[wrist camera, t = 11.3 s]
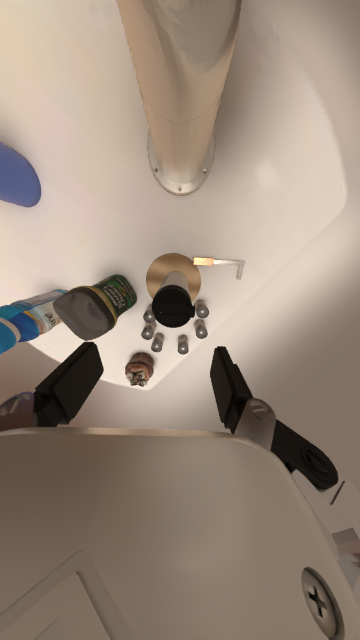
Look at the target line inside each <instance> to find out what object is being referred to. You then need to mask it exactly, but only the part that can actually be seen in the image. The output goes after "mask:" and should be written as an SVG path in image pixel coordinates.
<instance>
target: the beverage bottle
mask: <svg viewBox="0 0 360 640" xmlns="http://www.w3.org/2000/svg"><path fill="white" fill-rule="evenodd" d="M65 293H67V291H64V290H54V291H52V292H48V293H45V294H42V295H38V296H35V297H32V298H28V299H25V300H19V301H16V302H13V303H12V304H10V305H5V306H2V307H0V354H1V353H3V352H5V351H7V350H8V349H10V348H12V347H13V346H14V345H16V343H17V342H24V341H29V340H33V339H35V338H37V337H38V336H39V335H41V334H44V333H46V332H48V331H50V330H51V329H52V328H53V327H54V326H56V325H58V324H59V323H61V322H63V321H62V320H61V318H60V317H59V316H58V315H57V314H56V312H55V310H54V308H53V302H54V301H55V300H56V299H57V298H59V297H60V296H62V295H63V294H65Z"/></svg>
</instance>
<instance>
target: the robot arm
mask: <svg viewBox="0 0 360 640" xmlns="http://www.w3.org/2000/svg"><path fill="white" fill-rule="evenodd" d="M241 1H242V0H117V4H118V7H119V11H120V14H121V18H122V22H123V26H124V29H125V33H126V37H127V41H128V45H129V49H130V52H131V56H132V60H133V64H134V68H135V72H136V76H137V80H138V84H139V88H140V92H141V96H142V100H143V104H144V108H145V112H146V116H147V120H148V124H149V134H148V157H149V161H150V165H151V168H152V171H153V173H154V176H155V178H156V179H157V181H158V182H159V184H160V185H161V186H162V187H163V188H164V189H165V190H166V191H168V192H170V193H172V194H174V195H180V196H182V195H188V194H190V193H192V192H194V191H195V190H197V189H198V188H199V187H200V186H201V185H202V184H203V182H204V181H205V179H206V178H207V176H208V173H209V171H210V168H211V166H212V162H213V158H214V149H215V139H214V132H213V127H214V123H215V119H216V116H217V112H218V108H219V104H220V101H221V97H222V93H223V89H224V85H225V82H226V78H227V74H228V70H229V67H230V62H231V59H232V55H233V51H234V46H235V42H236V37H237V31H238V25H239V18H240V10H241ZM156 170H158V172H156ZM203 172H204V173H205V175H204V174H203ZM179 189H181V191H180V192H179ZM103 371H104V369H103V365H102V362H101V358H100V355H99V352H98V348H97V345H96V344H94V342H84V343H83V344H82V345H80V346H79V347H78V348H77V349H76V350H75V351H74V352H73V353H72V354H71V355H70V356H69V357H68V358H67V359H66V360H65V361H64V362H62V363H61V364H60V365H59V366H58V367H57V368H56V369H55V370H54V371H53V372H52V373H51V374H50V375H49V376H48V377H47V378H46V379H44V380H43V381H42V382H41V383H40V384H39V385H38V386H37V387H36V388H35V389H36V391H35V392H34V393H32V392H23V393H20V394H17V395H15V396H13V397H11V398H9V399H7V400H6V401H5V402H3V403H2V404H1V405H0V640H360V492H359V491H358V490H357V489H356V488H355V487H354V486H353V485H352V484H351V483H350V482H349V481H348V480H345V481H344V480H343V479H342V478H341V477H340V476H339V475H338V473H337V471H336V469H335V467H334V465H333V463H332V462H331V461H330V459H329V458H328V457H327V456H326V455H325V454H324V453H323V452H322V451H321V450H320V449H318V448H317V447H316V446H314V445H313V444H311V443H310V442H309V441H307V440H306V439H304V438H303V437H302V436H300V435H299V434H297V433H296V432H294V431H293V430H291V429H290V428H289V427H287V426H286V425H284V424H283V423H282V422H280V421H279V420H277V419H276V415H275V413H274V411H273V409H272V408H271V407H270V406H269V405H268V404H267V403H266V402H264V401H263V400H261V399H257V398H253V396H252V394H251V392H250V390H249V388H248V386H247V384H246V382H245V380H244V378H243V376H242V374H241V372H240V370H239V368H238V366H237V365H236V364H233V362H232V360H231V358H230V355H229V353H228V351H227V349H226V347H223V346H218V347H217V348H215V350H214V355H213V360H212V365H211V370H210V378H211V382H212V386H213V390H214V395H215V399H216V403H217V407H218V411H219V416H220V420H221V422H222V423H224V426H225V428H229V429H230V430H231V433H232V434H230V433H223V432H212V431H193V430H163V429H161V430H160V429H126V428H125V429H124V428H122V429H121V428H77V427H74V428H73V427H56V426H57V425H58V424H67V425H68V424H69V422H70V421H71V419H73V418H74V417H75V416H76V414H77V413H78V411H79V410H80V408H81V407H82V405H83V403H84V402H85V400H86V399H87V397H88V395H89V394H90V393H91V391H92V389H93V388H94V386H95V385H96V383H97V381H98V380H99V378H100V377H101V375H102V374H103ZM305 498H306V499H307V500H308V501H309V502H310V504H311V505H312V506H313V507H314V509H315V510H316V512H315V513H316V514H317V516H318V517H319V518H320V519H321V521H322V522H323V523H324V524H325V526H326V527H327V529H328V530H329V532H330V533H331V535H332V537H333V539H334V541H335V543H336V546H337V550H338V554H339V561H337V559H336V557H335V555H334V553H333V551H332V549H331V547H330V545H329V543H328V541H327V539H326V537H325V535H324V533H323V531H322V529H321V527H320V525H319V523H318V521H317V520H316V518H315V516H314V514H313V512H312V510H311V508H310V507H309V505H308V503H307V501H306V499H305ZM303 569H304V570H303Z"/></svg>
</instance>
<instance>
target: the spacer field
mask: <svg viewBox="0 0 360 640" xmlns="http://www.w3.org/2000/svg"><path fill="white" fill-rule="evenodd" d="M195 309H196V313H197V316H198V317H199V318H206V317H207V316H208V315H209V310H208V308H207V306H206V304H205V302H204V301H203V300H197V301H196V302H195ZM143 318H144V320H145V321H146V322H147V323H146V325H145V327H144V329H143V331H142V333H141V336H142V337H143V338H144V339H146V340H149V339H151V338H152V337H153V334H154V331H155V328H156V323H155V322H154V321H155V317H154V315H153V312H152V304H151V305H150V306H149V307H148V309H147V310H146V312H145V314H144V316H143ZM194 326H195V331H196V336H197V337H198V338H200V339H203V338H205V337H207V335H208V333H207V330H206V327H205V324H204V321H203V320H200V319H199V320H196V321H195V323H194ZM163 340H164V335H163V334H162V333H156V334H155V336H154V339H153V343H152V346H151V349H152V351H154V352H160V351H161V350H162V345H163ZM178 352H179V353H180V354H186V353H188V338H187V336H185V335H180V336H179V337H178Z"/></svg>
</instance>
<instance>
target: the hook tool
mask: <svg viewBox="0 0 360 640" xmlns="http://www.w3.org/2000/svg"><path fill="white" fill-rule="evenodd" d="M244 263H245V261H231V260H214V258H197V257H194V258H193V265H213V264H230V265H239V267H238V272H237V277H236V279H240V280H241V276H242V271H243V267H244Z"/></svg>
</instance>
